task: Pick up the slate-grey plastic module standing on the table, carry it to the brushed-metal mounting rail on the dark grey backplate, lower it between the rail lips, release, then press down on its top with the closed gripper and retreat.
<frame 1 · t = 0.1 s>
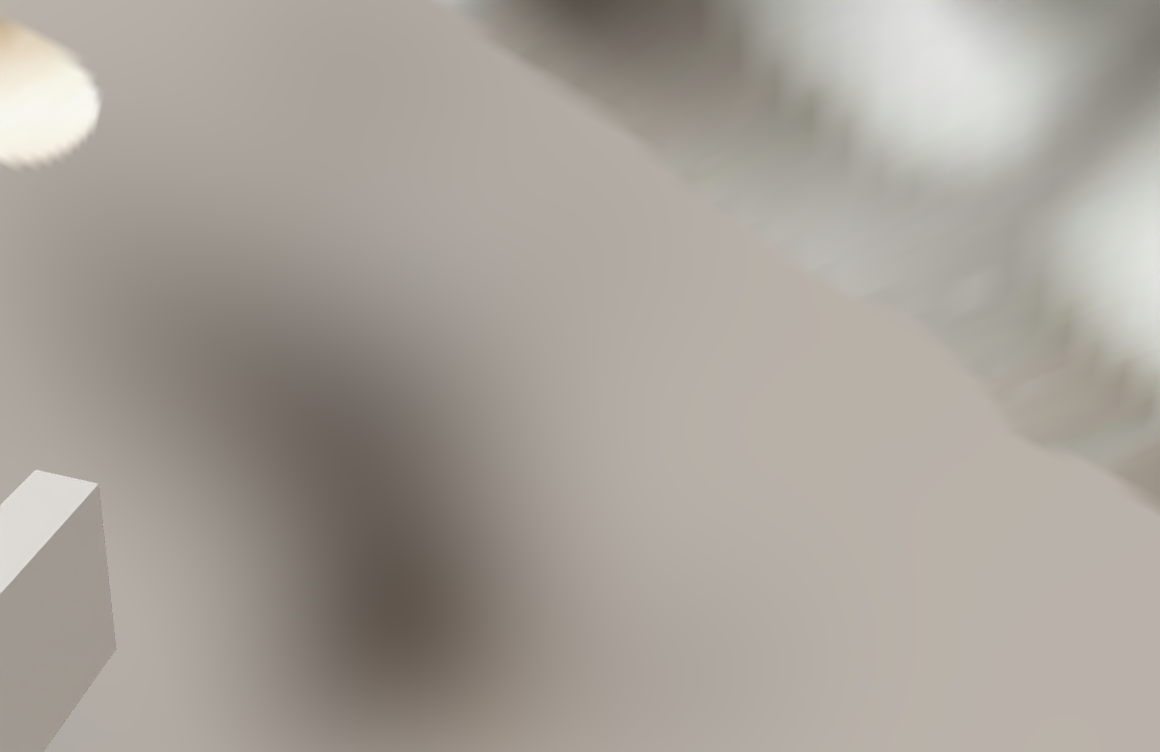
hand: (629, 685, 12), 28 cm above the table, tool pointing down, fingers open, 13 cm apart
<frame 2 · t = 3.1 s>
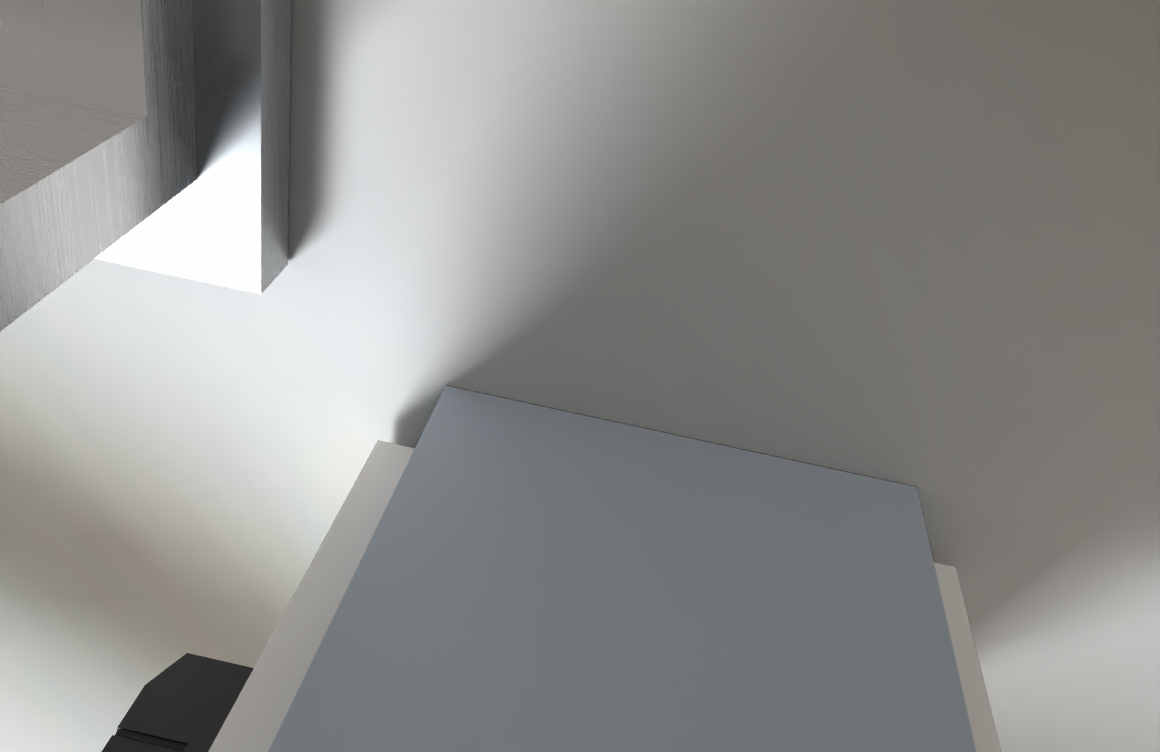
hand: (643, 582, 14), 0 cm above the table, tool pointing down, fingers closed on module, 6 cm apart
module: (644, 569, 14), on the table, touching gripper
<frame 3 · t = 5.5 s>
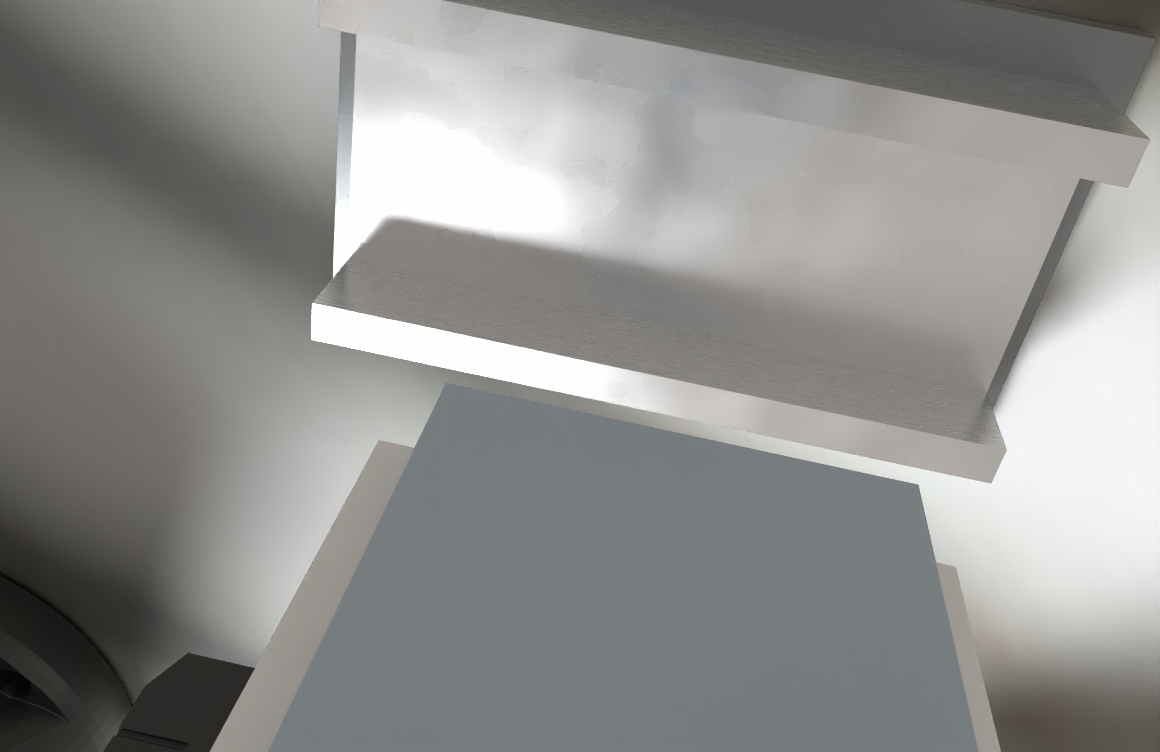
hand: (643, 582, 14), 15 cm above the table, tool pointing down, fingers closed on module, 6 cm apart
rail: (693, 181, 26), on the table
module: (645, 566, 14), point 14 cm above the table, touching gripper
when the fingers open (3 cm above the table, at t = 7.9 s): module drops 1 cm, resting on rail.
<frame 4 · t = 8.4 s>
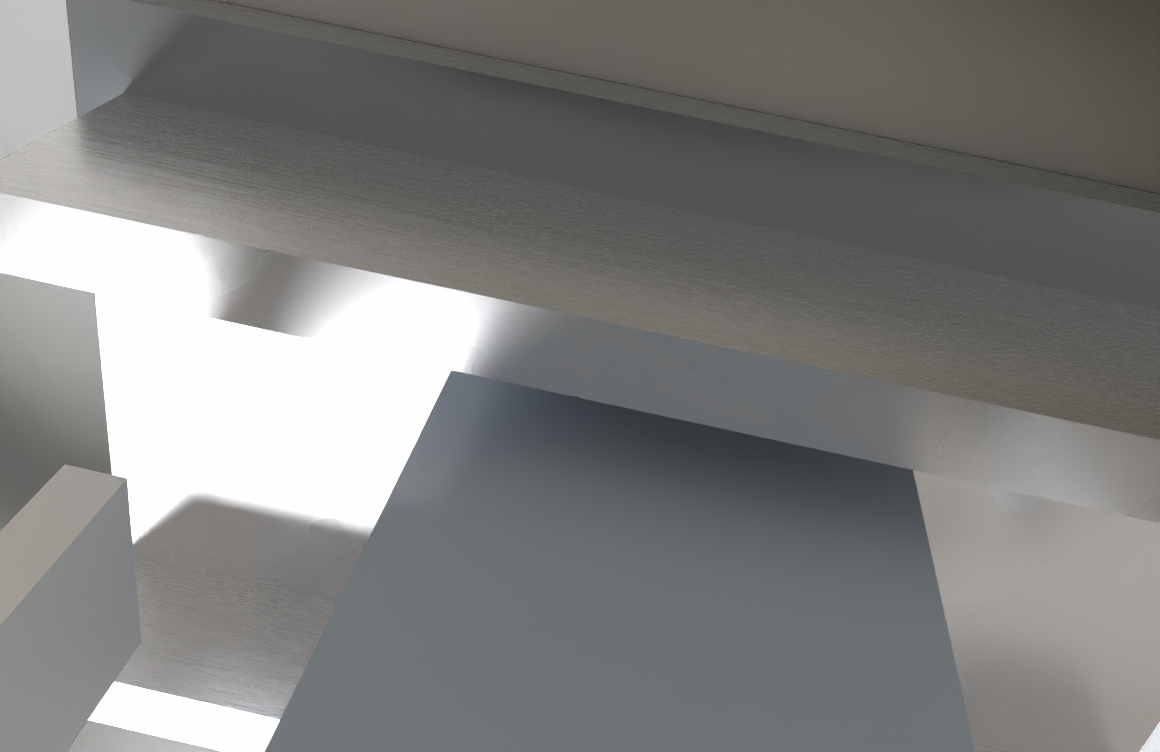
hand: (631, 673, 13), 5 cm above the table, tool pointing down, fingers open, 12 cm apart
rail: (662, 440, 17), on the table
module: (651, 508, 15), point 2 cm above the table, touching rail
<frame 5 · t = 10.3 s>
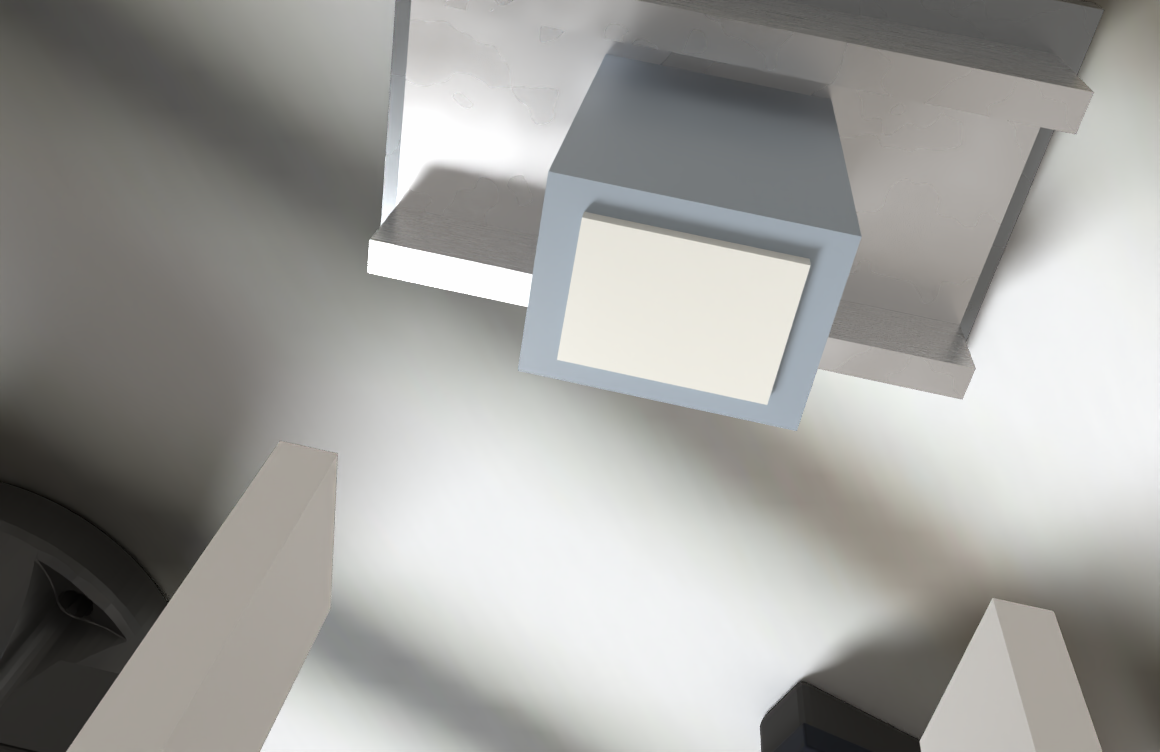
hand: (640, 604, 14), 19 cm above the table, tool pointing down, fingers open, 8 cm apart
rail: (702, 137, 30), on the table
module: (699, 158, 28), point 2 cm above the table, touching rail
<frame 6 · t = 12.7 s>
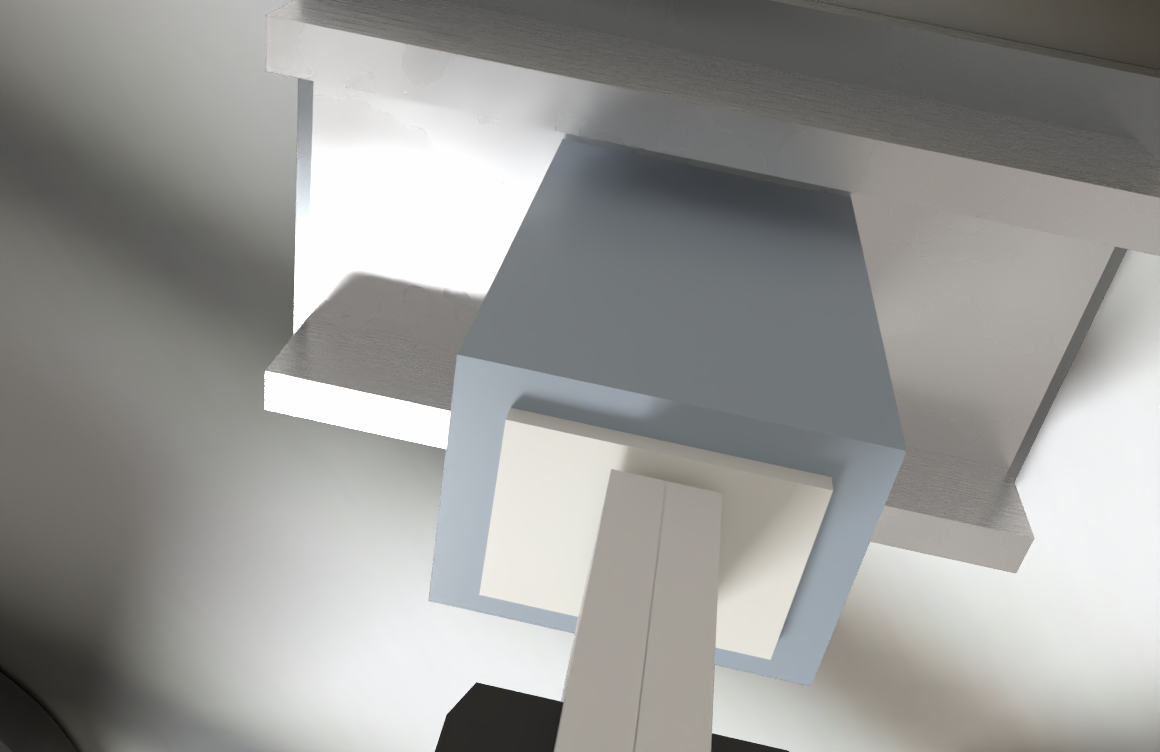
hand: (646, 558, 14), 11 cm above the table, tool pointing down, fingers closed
rail: (688, 234, 24), on the table
module: (682, 266, 23), point 2 cm above the table, touching gripper, rail
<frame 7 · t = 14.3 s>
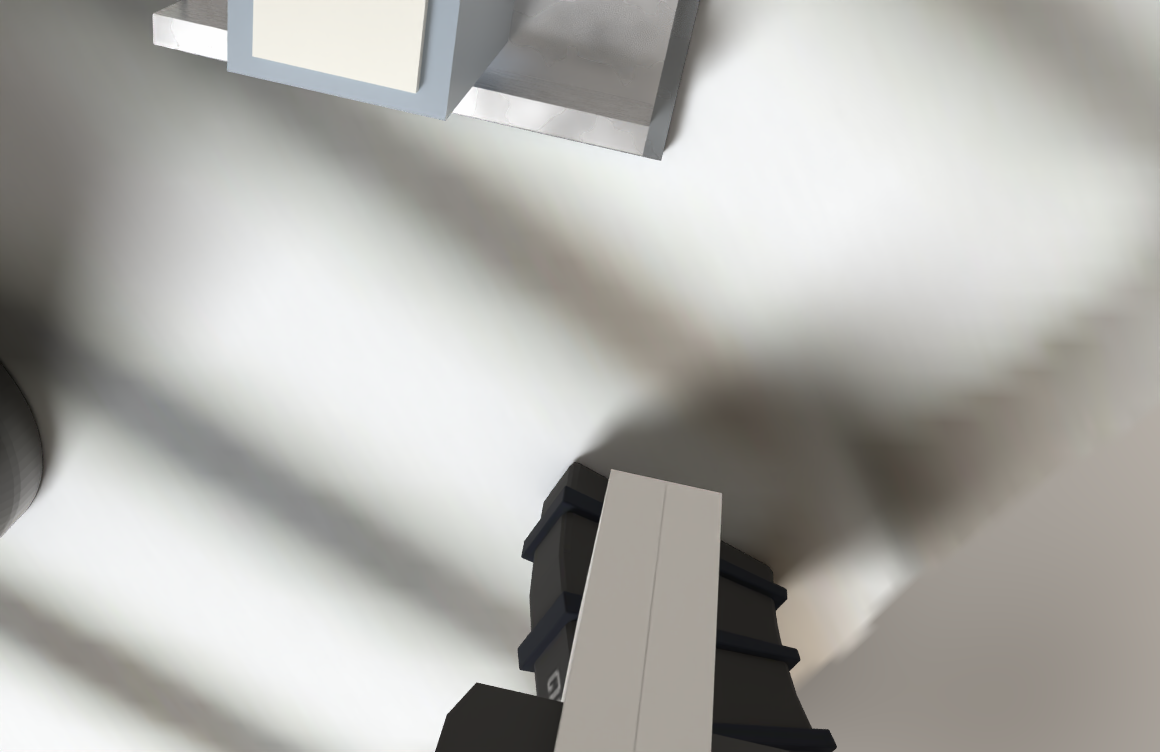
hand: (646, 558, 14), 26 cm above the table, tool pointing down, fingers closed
magazine: (679, 543, 48), on the table
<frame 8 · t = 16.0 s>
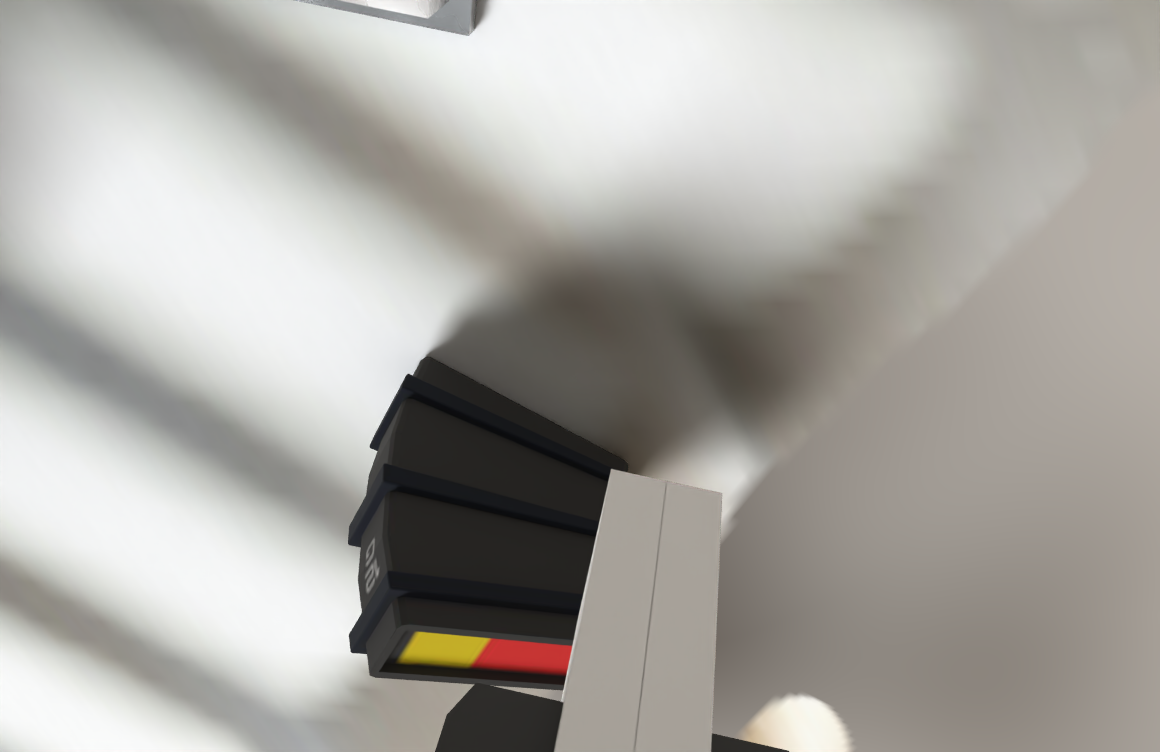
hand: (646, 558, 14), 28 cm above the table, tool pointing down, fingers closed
magazine: (537, 439, 49), on the table
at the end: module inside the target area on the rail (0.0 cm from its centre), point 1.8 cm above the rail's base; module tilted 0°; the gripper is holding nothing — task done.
